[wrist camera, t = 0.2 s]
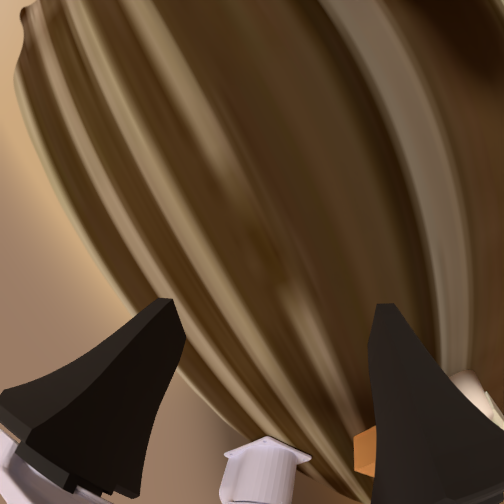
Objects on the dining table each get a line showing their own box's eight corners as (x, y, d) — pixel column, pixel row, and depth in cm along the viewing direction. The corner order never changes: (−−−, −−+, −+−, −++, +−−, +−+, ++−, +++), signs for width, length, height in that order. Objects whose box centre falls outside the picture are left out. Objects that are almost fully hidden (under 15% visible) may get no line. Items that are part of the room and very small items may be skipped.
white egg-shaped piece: (446, 405, 24) (458, 445, 18) (430, 391, 23) (442, 435, 18) (481, 380, 22) (497, 419, 16) (467, 362, 21) (487, 405, 16)
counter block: (373, 446, 28) (375, 477, 23) (353, 436, 27) (354, 470, 23) (402, 431, 26) (408, 463, 22) (384, 420, 26) (389, 455, 21)
